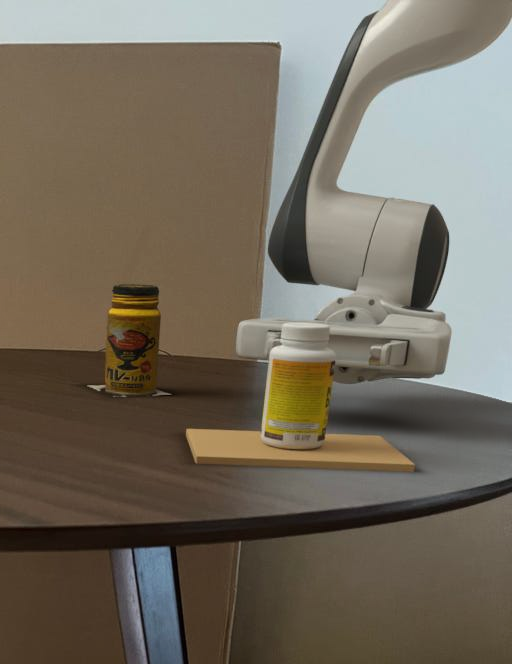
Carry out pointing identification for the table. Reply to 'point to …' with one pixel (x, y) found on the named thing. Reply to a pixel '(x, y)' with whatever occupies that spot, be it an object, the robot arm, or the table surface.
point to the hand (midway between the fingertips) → (325, 352)
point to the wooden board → (296, 451)
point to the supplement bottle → (298, 388)
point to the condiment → (132, 341)
